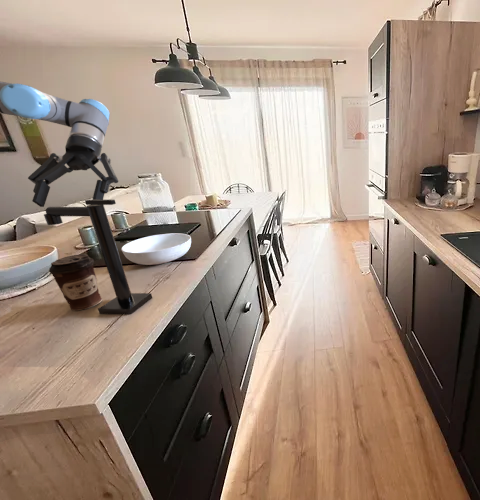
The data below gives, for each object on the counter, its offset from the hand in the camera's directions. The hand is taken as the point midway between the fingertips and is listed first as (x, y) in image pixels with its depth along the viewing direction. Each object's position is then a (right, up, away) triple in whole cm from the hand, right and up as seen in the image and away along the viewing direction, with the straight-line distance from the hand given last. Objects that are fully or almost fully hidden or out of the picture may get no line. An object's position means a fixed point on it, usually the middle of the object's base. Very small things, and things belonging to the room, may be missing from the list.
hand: (68, 203), depth 77 cm
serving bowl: (+8, -16, +27) cm, 32 cm away
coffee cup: (+7, -27, -2) cm, 28 cm away
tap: (+14, -27, -2) cm, 31 cm away
